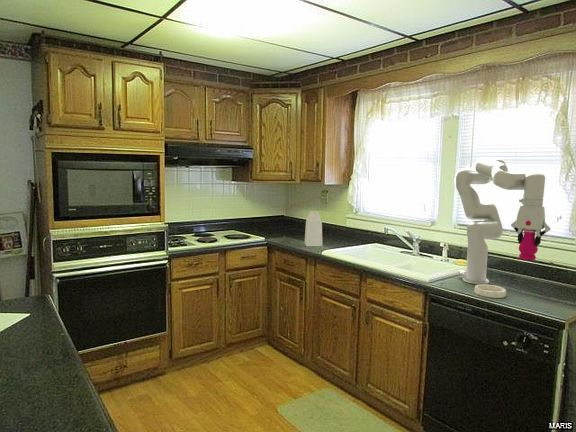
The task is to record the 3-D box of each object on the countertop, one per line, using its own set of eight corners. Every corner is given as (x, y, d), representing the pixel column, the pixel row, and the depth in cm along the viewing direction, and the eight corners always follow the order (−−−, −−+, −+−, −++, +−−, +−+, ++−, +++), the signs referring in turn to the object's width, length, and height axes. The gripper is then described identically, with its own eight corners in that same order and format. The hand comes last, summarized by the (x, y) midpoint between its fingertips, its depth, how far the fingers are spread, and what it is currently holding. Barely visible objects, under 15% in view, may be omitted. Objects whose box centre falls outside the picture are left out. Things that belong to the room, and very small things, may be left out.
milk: (320, 245, 310) (321, 210, 306) (322, 247, 298) (323, 212, 295) (304, 244, 309) (304, 210, 306) (305, 247, 297) (306, 212, 294)
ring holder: (469, 292, 193) (469, 287, 193) (481, 287, 202) (482, 282, 202) (498, 299, 183) (498, 294, 183) (510, 294, 192) (510, 288, 192)
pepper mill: (524, 256, 185) (528, 212, 182) (540, 259, 178) (545, 214, 176) (514, 257, 181) (518, 212, 179) (530, 261, 175) (534, 214, 172)
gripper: (507, 201, 181) (504, 242, 183) (552, 205, 168) (547, 248, 170) (514, 200, 185) (511, 240, 188) (558, 204, 173) (554, 246, 175)
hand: (528, 243), depth 179 cm, fingers closed on pepper mill, 5 cm apart
